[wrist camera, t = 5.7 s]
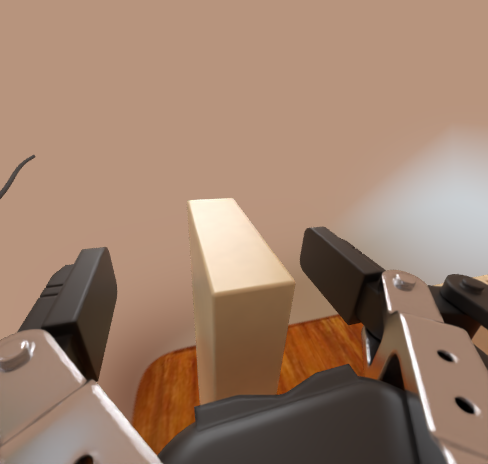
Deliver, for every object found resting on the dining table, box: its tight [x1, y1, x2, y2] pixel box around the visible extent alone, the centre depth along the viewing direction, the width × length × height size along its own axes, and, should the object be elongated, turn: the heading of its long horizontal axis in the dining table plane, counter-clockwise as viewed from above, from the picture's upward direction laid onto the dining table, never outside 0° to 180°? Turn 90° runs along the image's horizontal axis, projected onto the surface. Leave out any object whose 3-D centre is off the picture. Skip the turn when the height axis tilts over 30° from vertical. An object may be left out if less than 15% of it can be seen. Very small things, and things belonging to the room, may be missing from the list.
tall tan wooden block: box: [187, 198, 295, 405], centre depth 11 cm, size 6×2×15 cm, turn 16°
